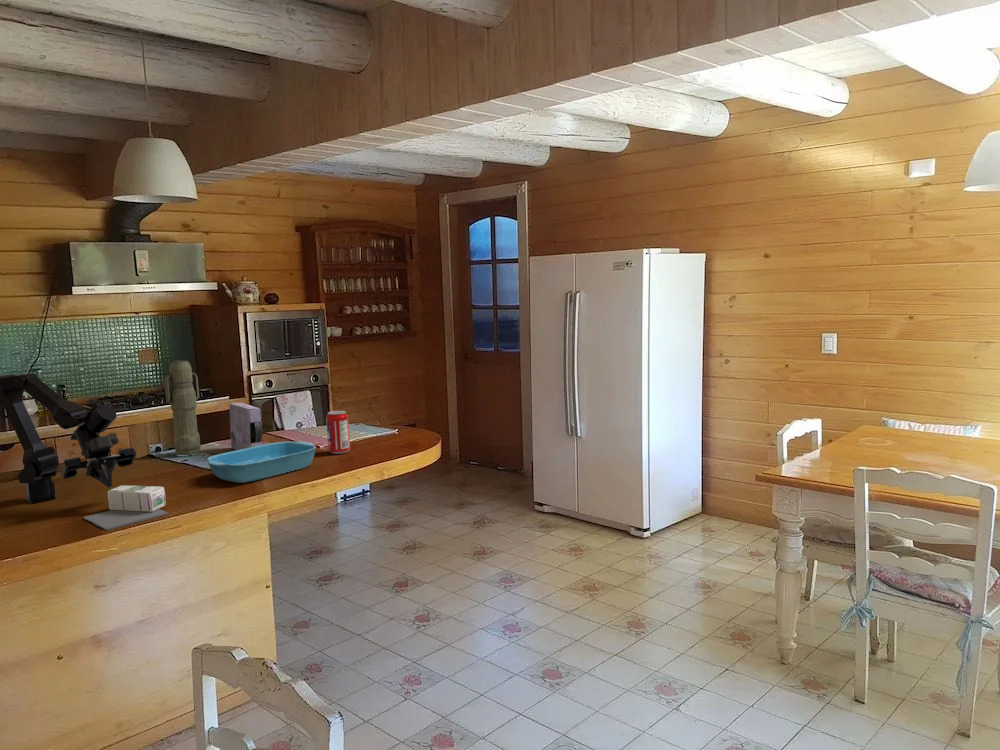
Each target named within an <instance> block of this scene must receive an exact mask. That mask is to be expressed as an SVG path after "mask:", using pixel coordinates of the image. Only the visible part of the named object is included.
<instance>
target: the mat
mask: <svg viewBox="0 0 1000 750" xmlns="http://www.w3.org/2000/svg"><path fill="white" fill-rule="evenodd" d="M168 515H169V512H168V511H165V510H163V509H161V508H159V509H157V510H155V511H153V512H147V511H125V510H110V509H109V510H106V511H103V512H98V513H94V514H90V515H85V516H83V518H84V519H83V520H85V521H87V520H88V521H87V522H89V521H90V522H89V523H91V522H92V523H91V524H92V525H95V526H97V527H99V528H100V527H101V529H102V528H103V529H102V530H104V531H110V530H114V529H118V528H121V527H126V526H129V525H133V524H138V523H141V522H144V521H148V520H152V519H156V518H159V517H163V516H168Z"/></svg>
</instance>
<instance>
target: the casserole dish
mask: <svg viewBox="0 0 1000 750" xmlns="http://www.w3.org/2000/svg"><path fill="white" fill-rule="evenodd" d="M316 449H317V446H316V445H314V443H312V442H307V441H291V440H290V441H279V442H272V443H266V444H262V445H260V446H256V447H251V448H246V449H241V450H231V451H228V452H224V453H219V454H218V453H217V454H214V455H212V456H209V457H208V458H207V459H206V460H207V461H206V462H207V463H208V464H207V465H208V466H209V468H210V470H211V471H212V473H213V475H214V476H216V477H217V478H219V479H221V480H224V481H228V482H231V483H238V484H240V483H241V484H243V483H244V484H245V483H250V482H255V481H260V480H263V479H264V480H265V479H268V478H271V477H272V478H273V477H276V476H279V475H284V474H287V472H288V473H292V472H295V470H296V471H299V470H302V469H306V468H307V467H309V466H310V465H311V464H312V462H313V459H314V458H315V457H314V456H315V452H316ZM291 471H292V472H291Z"/></svg>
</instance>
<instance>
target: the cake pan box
mask: <svg viewBox="0 0 1000 750" xmlns="http://www.w3.org/2000/svg"><path fill="white" fill-rule="evenodd" d="M228 405H229V425H230V426H229V427H230V448H231V449H232V450H234V451H237V450H241V449H246V448H251V447H256V446H260V445H263V443H262V438H263V428H262V426H263V425H262V418H261V415H262V413H261V408H260V407H256V406H253V405H250V404H247V403H243V402H230V403H229V404H228Z"/></svg>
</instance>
